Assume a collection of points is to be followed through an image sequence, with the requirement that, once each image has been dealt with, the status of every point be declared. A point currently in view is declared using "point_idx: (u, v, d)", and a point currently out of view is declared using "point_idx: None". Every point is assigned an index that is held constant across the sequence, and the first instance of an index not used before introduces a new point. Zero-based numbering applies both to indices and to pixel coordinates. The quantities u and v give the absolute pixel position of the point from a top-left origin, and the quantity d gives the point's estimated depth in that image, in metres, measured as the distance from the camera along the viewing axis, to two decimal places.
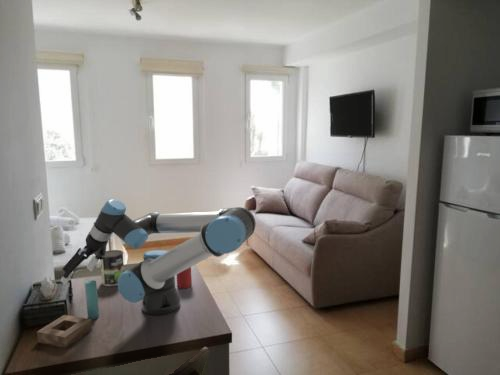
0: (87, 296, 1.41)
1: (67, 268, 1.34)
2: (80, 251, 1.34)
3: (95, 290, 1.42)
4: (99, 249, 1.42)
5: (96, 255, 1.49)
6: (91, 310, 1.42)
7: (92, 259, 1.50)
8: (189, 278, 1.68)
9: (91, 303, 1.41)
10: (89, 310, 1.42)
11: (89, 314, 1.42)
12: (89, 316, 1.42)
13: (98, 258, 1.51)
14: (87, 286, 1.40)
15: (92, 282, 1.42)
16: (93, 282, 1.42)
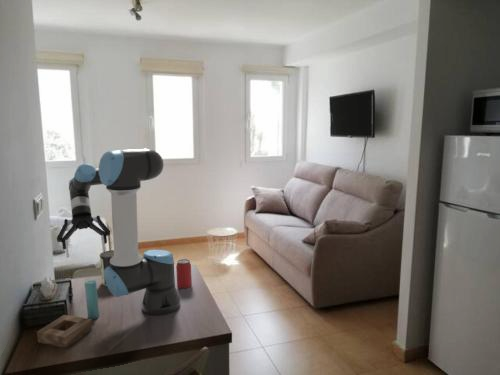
0: (87, 296, 1.41)
1: None
2: None
3: (95, 290, 1.42)
4: (87, 218, 1.57)
5: (99, 233, 1.57)
6: (91, 310, 1.42)
7: None
8: (189, 278, 1.68)
9: (91, 303, 1.41)
10: (89, 310, 1.42)
11: (89, 314, 1.42)
12: (89, 316, 1.42)
13: (104, 235, 1.56)
14: (87, 286, 1.40)
15: (92, 282, 1.42)
16: (93, 282, 1.42)
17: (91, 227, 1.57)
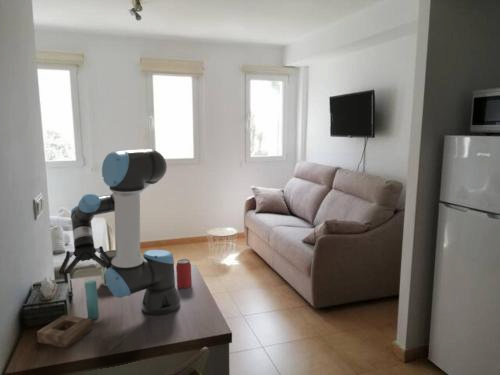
0: (87, 296, 1.41)
1: None
2: None
3: (95, 290, 1.42)
4: (89, 250, 1.52)
5: (102, 265, 1.52)
6: (91, 310, 1.42)
7: None
8: (189, 278, 1.68)
9: (91, 303, 1.41)
10: (89, 310, 1.42)
11: (89, 314, 1.42)
12: (89, 316, 1.42)
13: (107, 267, 1.51)
14: (87, 286, 1.40)
15: (92, 282, 1.42)
16: (93, 282, 1.42)
17: (94, 259, 1.53)
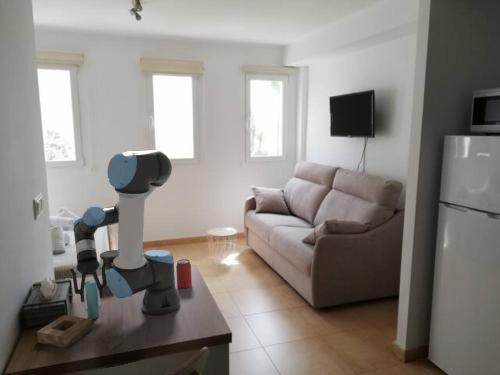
0: (87, 296, 1.41)
1: (74, 289, 1.42)
2: (70, 272, 1.45)
3: (95, 290, 1.42)
4: (93, 264, 1.48)
5: None
6: (91, 310, 1.42)
7: None
8: (189, 278, 1.68)
9: (91, 303, 1.41)
10: (89, 310, 1.42)
11: (89, 314, 1.42)
12: (89, 316, 1.42)
13: (99, 289, 1.44)
14: (87, 286, 1.40)
15: (92, 282, 1.42)
16: (93, 282, 1.42)
17: (93, 275, 1.47)
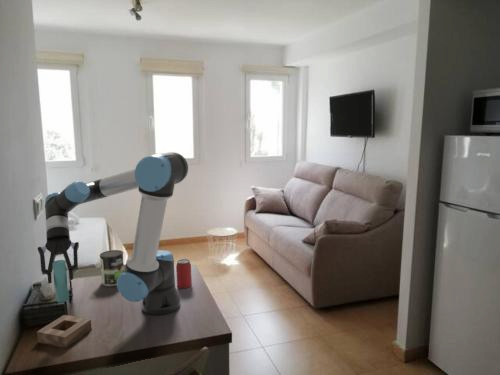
0: (55, 277, 1.27)
1: (41, 269, 1.28)
2: (38, 250, 1.31)
3: (64, 270, 1.28)
4: (63, 243, 1.34)
5: (67, 265, 1.31)
6: (59, 292, 1.28)
7: None
8: (189, 278, 1.68)
9: (59, 285, 1.27)
10: (57, 293, 1.28)
11: (57, 297, 1.28)
12: (58, 299, 1.28)
13: (69, 270, 1.30)
14: (55, 266, 1.26)
15: (61, 261, 1.28)
16: (62, 261, 1.28)
17: (63, 254, 1.33)
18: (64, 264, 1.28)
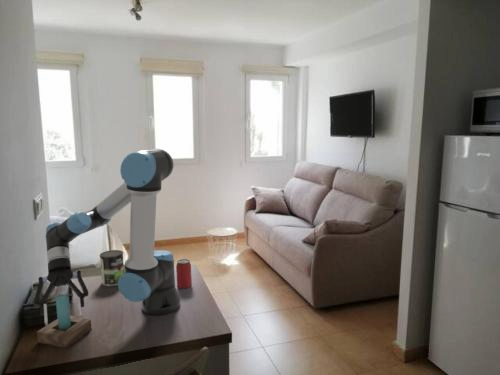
0: (58, 312, 1.28)
1: None
2: None
3: (67, 305, 1.29)
4: (65, 274, 1.34)
5: (76, 293, 1.33)
6: (62, 327, 1.28)
7: None
8: (189, 278, 1.68)
9: (62, 320, 1.28)
10: (60, 327, 1.29)
11: None
12: None
13: (81, 297, 1.32)
14: (58, 301, 1.27)
15: (64, 296, 1.29)
16: (65, 296, 1.29)
17: (68, 284, 1.35)
18: (67, 299, 1.29)
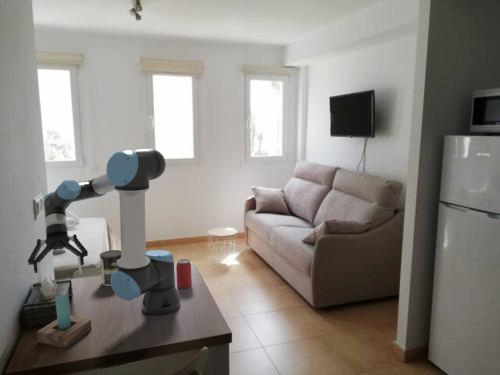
0: (58, 312, 1.28)
1: None
2: None
3: (67, 305, 1.29)
4: (62, 238, 1.44)
5: (76, 254, 1.44)
6: (62, 327, 1.28)
7: None
8: (189, 278, 1.68)
9: (62, 320, 1.28)
10: (60, 328, 1.29)
11: None
12: None
13: (81, 256, 1.43)
14: (58, 301, 1.27)
15: (63, 297, 1.29)
16: (65, 297, 1.29)
17: (67, 247, 1.45)
18: (67, 299, 1.29)
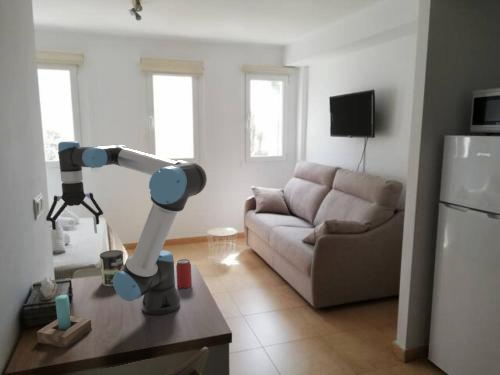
0: (58, 312, 1.28)
1: (47, 215, 1.41)
2: None
3: (67, 305, 1.29)
4: (79, 198, 1.43)
5: (92, 212, 1.48)
6: (62, 327, 1.28)
7: (93, 219, 1.49)
8: (189, 278, 1.68)
9: (62, 320, 1.28)
10: (60, 328, 1.29)
11: None
12: None
13: (97, 217, 1.48)
14: (58, 301, 1.27)
15: (63, 297, 1.29)
16: (65, 297, 1.29)
17: (83, 205, 1.46)
18: (67, 299, 1.29)
